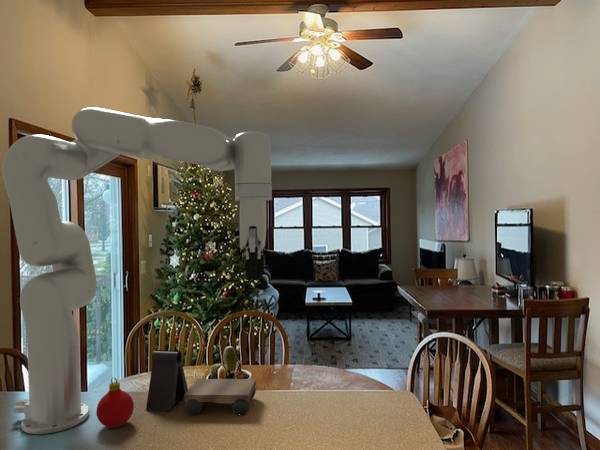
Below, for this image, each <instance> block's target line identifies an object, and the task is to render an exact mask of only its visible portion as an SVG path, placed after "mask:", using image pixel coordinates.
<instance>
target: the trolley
mask: <svg viewBox="0 0 600 450" xmlns="http://www.w3.org/2000/svg"><path fill="white" fill-rule="evenodd" d="M256 380H257V379H256V378H196V379H195V380H194V381H193V383H192V385H191V386H190V387H189V388H188V391H187V392H186V393H185V395H184V400H183V402H184V403H185V404H184V410H185V412H186V413H187V415H190V416H197V415H198V414H199V413H201V411H202V409H203V406H204V403H209V402H210V403H232V406H231V407H232V411H233V413H234V414H236V415H237V416H240V415H242V416H245V415H246V414H247V413H248V412H249V411H250V407H251V400H252V399H254V398H255V395H256V392H257V390H256V388H257V387H256V385H257V384H256ZM239 414H240V415H239Z"/></svg>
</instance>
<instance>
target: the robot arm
mask: <svg viewBox="0 0 600 450" xmlns="http://www.w3.org/2000/svg"><path fill="white" fill-rule="evenodd" d="M71 131H72V134H73V136H74V137H75V139H73V140H72V141H68V140H64V139H61V138H57V137H54V136H51V135H50V136H49V135H45V134H30V135H25V136H23V137H20V138H19V139H17V140H16V141H15V142H13V143H12V144H11V146H9V148H8V150H7V151H6V153H5V155H4V158H3V161H2V167H1V172H2V179H3V183H4V188H5V190H6V193H7V197H8V201H9V204H10V205H9V206H10V209H11V210H10V211H11V217H12V221H13V222H12V223H13V227H14V233H15V238H16V244H17V248H18V252H19V256H20V258H21V259H22V260H23V262H24V263H25V264H27V265H29V266H32V267H50V266H51V268H52V270H51V271H48V272H44V273H40V274H38V275H36V276H33V278H31V279H29V280H28V281H27V282H26V283H24V284H25V285H23V287H22V289H21V291H20V295H19V306H20V310H21V313H22V317H23V322H24V326H25V336H26V351H27V373H28V374H27V377H28V399H27V398H26V399H23V398H22V399H18V400H16V402H15V406H14V407H13V410H12V411H13V413H14V414H22V413H23V414H24V418H23V419H22V420H21V423H20V424H21V425H20V426H21V427H20V428H21V430H22V431H23V432H25V433H27V434H31V435H45V434H51V433H52V434H53V433H57V432H61V431H65V430H68V429H70V428H73V427H75V426H77V425H79V424H81V423H83V422H84V421H85V420H86V419H87V418H88V417H89V415H90V408H89V405H87V404H85V403H82V398H81V397H82V393H81V369H80V367H81V365H80V364H81V363H80V341H79V340H80V339H79V338H80V337H79V330H78V326H77V323H76V320H75V317H74V316H73V311H75V310H78V309H80V308H83V307H85V306H86V305H88V304H89V303H90V302H92V300H94V298H95V295H96V293H97V289H98V287H97V285H98V284H97V283H98V281H97V275H96V272H95V265H94V260H93V254H92V249H91V244H90V241H89V238H88V235H87V234H86V232H85V231H84V229H83V228H82V227H81V226H80V225H78V224H76V223H74V222H72V221H67V220H62V218H61V216H60V210H59V203H58V200H57V196H56V195H55V193H54V190H53V189H52V188H51V186H50V184H49V181H48V180H49V179H50V178H52V179H58V180H64V181H76V180H81V179H83V178H85V177H87V176H89V175H90V174H93V172H95V171H96V170H99V169H100V168H101V167H103V166H105V165H106V164H107V163H110V162H111V161H113V160H114V159H116V158H117V157H119V156H120V155H124V156H128V157H129V156H130V157H136V158H140V159H144V160H152V159H155V158H157V159H158V158H160V159H166V160H173V161H180V162H184V163H187V164H189V163H190V164H193V165H198V166H202V167H203V168H207V169H209V170H211V171H215V172H225V171H230V170H234V196H235V197H234V198H235V200H234V201H235V202H239V248H240V250H244V249H246V251H245V260H244V262H245V265H244V266H245V267H244V268H245V279H246V281H261V280H262V279H263V273H264V272H265V255H264V252H263V251H264V249H263V248H264V247H265V246H266V238H267V201H273V195H272V194H273V193H272V192H273V187H272V186H273V185H272V184H273V183H272V147H271V143H272V142H271V137H270V136H269V135H268V134H267V133H265V132H260V131H243V132H240V133H238V134H236V135H235V137H234V136H232V137H231V136H227V135H225V134H224V133H222V132H221V131H219V130H218V129H216V128H213V127H211V126H206V125H201V124H196V123H191V122H185V121H180V120H176V119H175V120H174V119H166V118H165V119H162V118H156V117H155V118H153V117H147V116H143V115H138V114H131V113H126V112H121V111H116V110H111V109H107V108H106V109H105V108H100V107H86V108H82V109H80V110H79V111H77V112H76V113H75V114H74V116H73V118H72V120H71Z"/></svg>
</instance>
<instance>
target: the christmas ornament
mask: <svg viewBox="0 0 600 450" xmlns="http://www.w3.org/2000/svg"><path fill="white" fill-rule="evenodd" d="M113 379H114V380H115V381H114V382H113ZM120 384H121V383H120V382H118V380H117V378H116V377H112V378H111V379H110V383H109V385H108V388H109V389H108V392H107V393H105V394H104V395H103V396H102V397H101V398H100V400H99V401H98V404H97V406H96V417H97V420H98V422H100V424H102V425H103V426H105V427H107V428H114V429H115V428H118V427H121V426H123V425H124V424H126V423H127V422H128V421H129V420H130V419H131V417H132V415H133V412H134V408H135V404H134V400H133V397H132V396H131V395H130V394H129V393H128V392H126V391H124V390H122V389H120V388H121V385H120Z"/></svg>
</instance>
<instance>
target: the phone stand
mask: <svg viewBox="0 0 600 450" xmlns="http://www.w3.org/2000/svg"><path fill="white" fill-rule="evenodd" d="M151 364H152V365H151V371H150V372H151V373H150V377H149V379H150V380H149V385H148V391H147V392H148V393H147V399H146V406H145V407H146V408H145V410H146V411H155V410H156V411H157V412H169V411H172V410H173V409H174V408H175V407H176V406H177V405H178V404H179V403H180V402H181V403H183V402H184V395H185V393H186V392H187V391H188V389H189V388H188V384H187V378H186V375H185V369H184V366H183V354H182V351H181V350H165V349H163V350H162V349H156V350H154V351H153V352H152V354H151ZM181 403H180V404H181ZM180 404H179V405H180ZM179 405H178V406H179ZM178 406H177V407H178ZM177 407H176V408H177ZM176 408H175V409H176ZM175 409H174V410H175ZM174 410H173V411H174ZM173 411H172V412H173Z"/></svg>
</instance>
